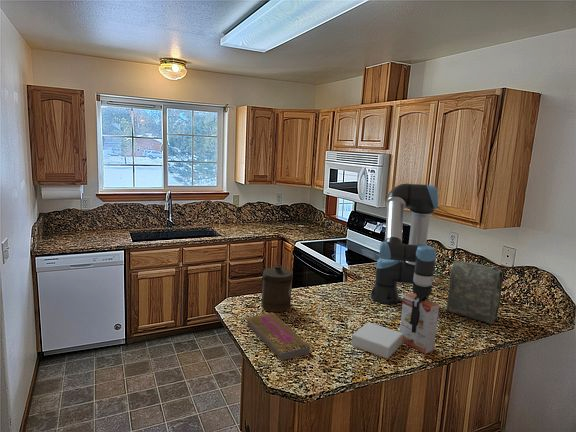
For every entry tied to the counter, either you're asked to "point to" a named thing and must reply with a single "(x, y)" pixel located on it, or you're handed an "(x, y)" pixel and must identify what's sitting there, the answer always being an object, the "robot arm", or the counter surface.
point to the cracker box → (420, 323)
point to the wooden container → (276, 289)
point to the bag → (475, 291)
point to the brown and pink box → (283, 328)
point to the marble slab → (377, 339)
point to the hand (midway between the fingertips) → (416, 335)
